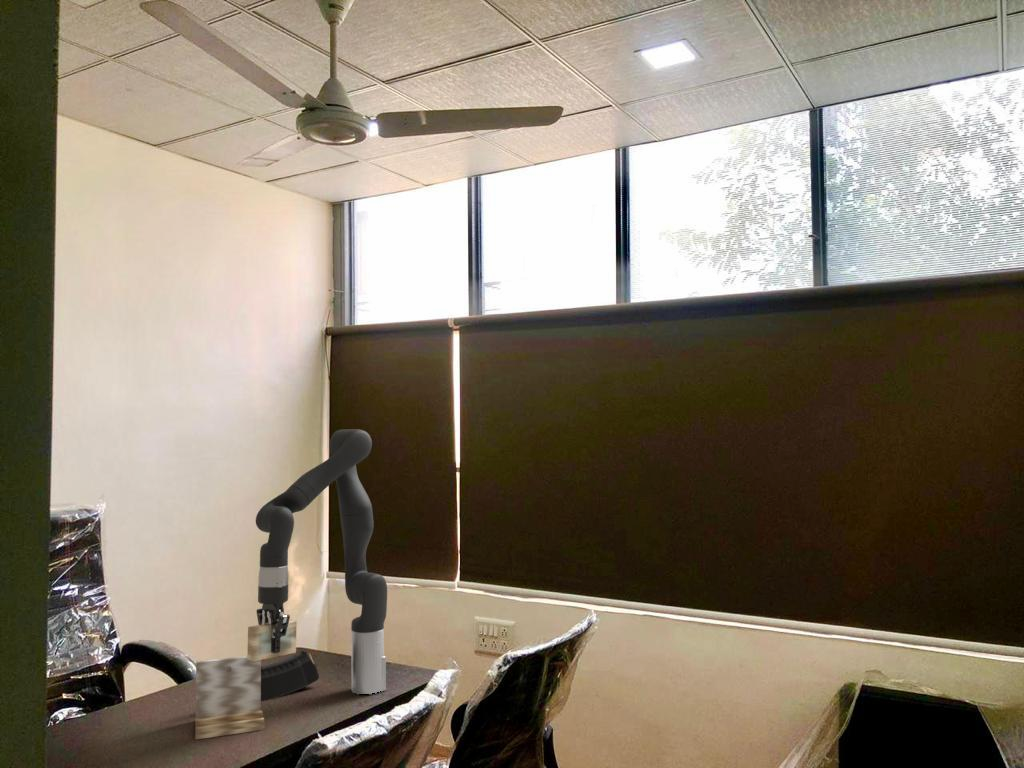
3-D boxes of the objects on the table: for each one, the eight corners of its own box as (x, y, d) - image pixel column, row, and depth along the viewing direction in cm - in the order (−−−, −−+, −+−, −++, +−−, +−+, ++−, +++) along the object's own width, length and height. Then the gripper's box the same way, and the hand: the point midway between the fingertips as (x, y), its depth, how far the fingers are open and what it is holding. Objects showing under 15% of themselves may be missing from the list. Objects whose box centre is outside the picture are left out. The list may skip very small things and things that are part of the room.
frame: (290, 650, 210) (290, 619, 210) (296, 652, 207) (296, 621, 208) (247, 659, 201) (247, 626, 202) (253, 661, 199) (253, 628, 200)
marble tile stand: (260, 711, 211) (260, 654, 212) (264, 729, 198) (264, 668, 199) (195, 720, 205) (196, 661, 206) (195, 739, 192) (196, 676, 193)
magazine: (206, 680, 210) (306, 628, 229) (201, 678, 212) (300, 626, 232) (224, 739, 212) (321, 682, 231) (219, 736, 214) (316, 680, 234)
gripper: (247, 582, 208) (245, 649, 207) (273, 588, 198) (271, 659, 197) (273, 578, 213) (272, 644, 212) (300, 584, 203) (299, 653, 202)
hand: (272, 651), depth 204 cm, fingers closed on frame, 3 cm apart
